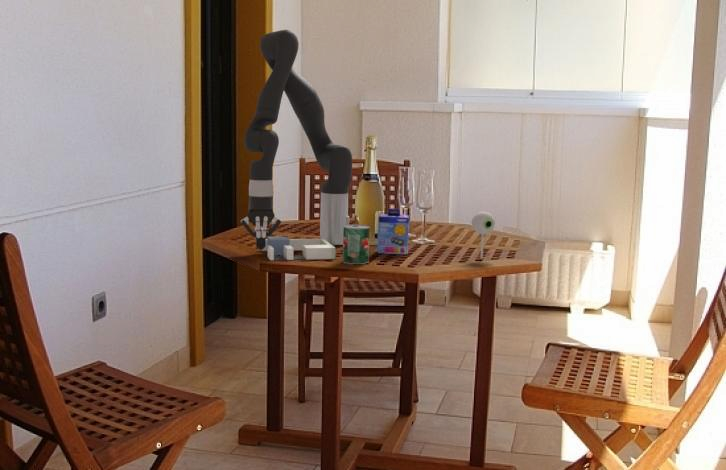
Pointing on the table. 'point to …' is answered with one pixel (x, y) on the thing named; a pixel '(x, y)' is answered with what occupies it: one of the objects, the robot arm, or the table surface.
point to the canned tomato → (356, 244)
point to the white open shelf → (304, 250)
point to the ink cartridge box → (393, 233)
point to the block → (277, 244)
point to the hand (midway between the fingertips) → (260, 249)
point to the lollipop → (483, 225)
